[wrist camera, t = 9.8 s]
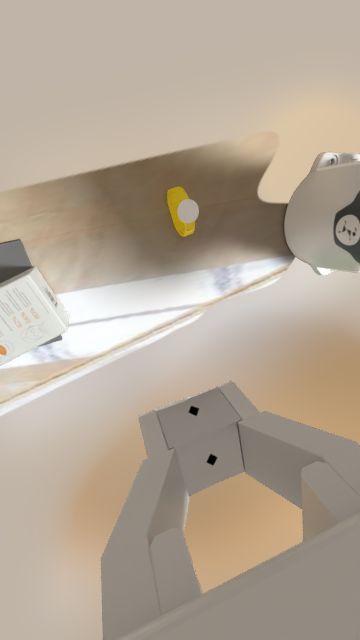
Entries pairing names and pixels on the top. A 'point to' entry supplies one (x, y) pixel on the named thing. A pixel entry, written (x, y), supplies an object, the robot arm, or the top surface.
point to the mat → (15, 265)
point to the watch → (182, 210)
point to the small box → (28, 314)
